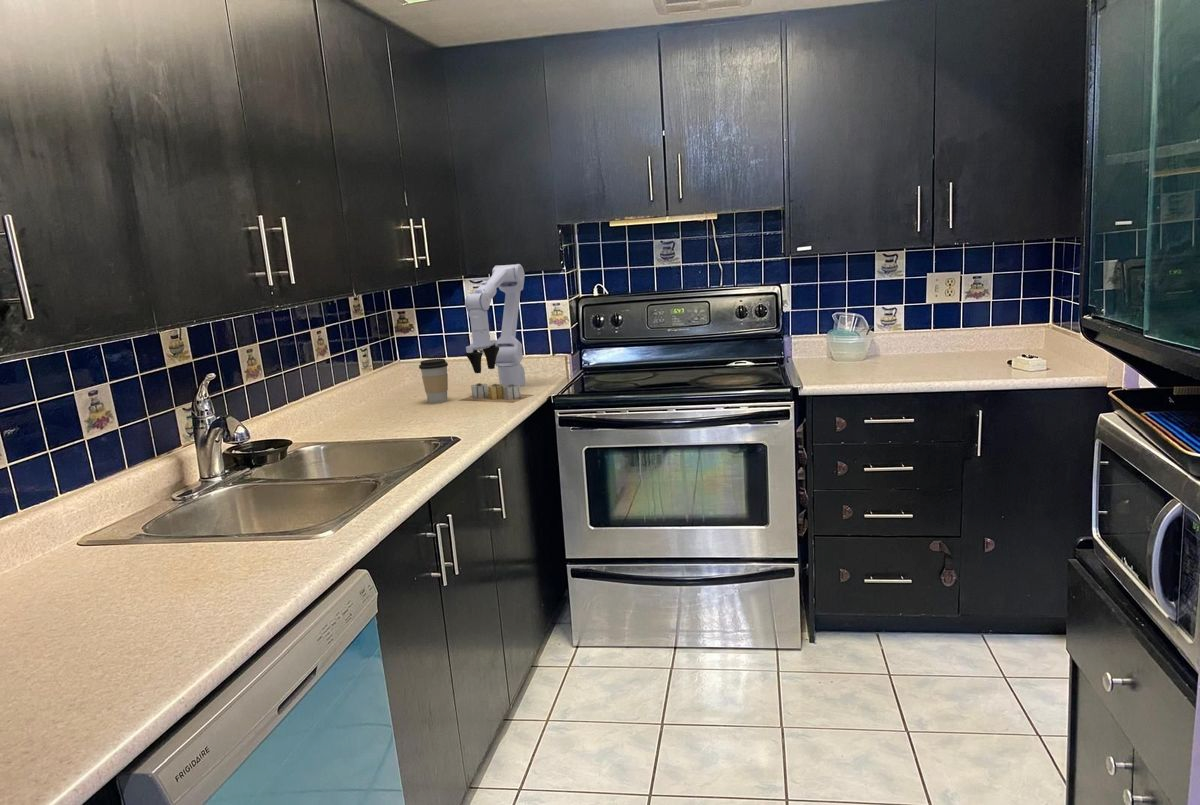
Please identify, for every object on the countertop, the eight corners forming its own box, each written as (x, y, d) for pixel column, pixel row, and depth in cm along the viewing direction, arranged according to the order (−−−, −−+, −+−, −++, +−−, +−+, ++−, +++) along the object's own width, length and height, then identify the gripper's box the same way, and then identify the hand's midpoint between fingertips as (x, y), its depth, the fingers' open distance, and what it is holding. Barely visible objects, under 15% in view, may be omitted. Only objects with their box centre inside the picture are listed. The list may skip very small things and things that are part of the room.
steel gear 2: (506, 397, 266) (505, 384, 265) (522, 396, 265) (520, 384, 264) (502, 400, 261) (501, 387, 260) (518, 399, 260) (517, 387, 259)
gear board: (481, 397, 277) (479, 380, 276) (534, 399, 266) (533, 381, 265) (458, 404, 267) (456, 386, 265) (513, 407, 256) (511, 388, 255)
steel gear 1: (478, 395, 273) (477, 383, 272) (491, 395, 270) (490, 383, 269) (469, 398, 268) (467, 386, 267) (481, 398, 266) (480, 386, 265)
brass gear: (501, 395, 269) (500, 383, 268) (508, 397, 265) (506, 385, 264) (486, 397, 267) (485, 385, 266) (493, 399, 262) (492, 387, 261)
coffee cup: (455, 401, 272) (450, 357, 269) (448, 407, 263) (442, 361, 260) (428, 403, 273) (423, 359, 270) (419, 409, 264) (414, 363, 261)
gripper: (483, 327, 274) (487, 366, 277) (456, 333, 262) (461, 374, 265) (500, 326, 271) (504, 367, 274) (474, 333, 259) (479, 375, 261)
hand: (484, 371), depth 269 cm, fingers open, 7 cm apart
